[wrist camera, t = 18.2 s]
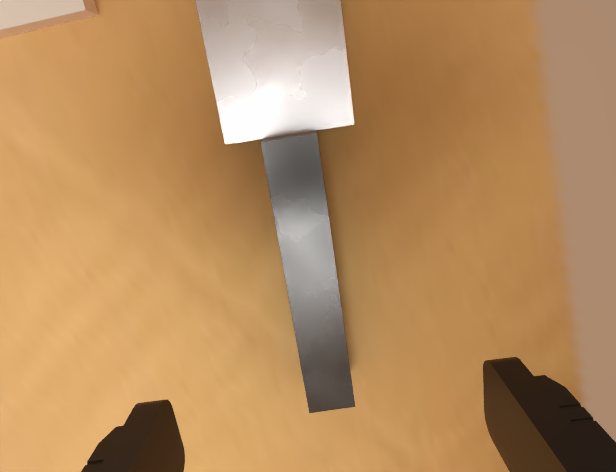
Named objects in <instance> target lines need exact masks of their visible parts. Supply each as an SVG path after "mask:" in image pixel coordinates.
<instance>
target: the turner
mask: <svg viewBox="0 0 616 472" xmlns="http://www.w3.org/2000/svg"><path fill="white" fill-rule="evenodd" d="M195 1H196V6H197V11H198V16H199V20H200V25H201V30H202V35H203V40H204V45H205V49H206V54H207V59H208V64H209V69H210V74H211V78H212V83H213V88H214V93H215V98H216V103H217V107H218V112H219V117H220V122H221V127H222V132H223V136H224V141H225V145H226V144H232V143H239V142H245V141H251V140H258V139H263V140H262V142H261V147H262V153H263V159H264V164H265V170H266V175H267V181H268V186H269V192H270V197H271V203H272V208H273V214H274V219H275V225H276V230H277V236H278V241H279V247H280V252H281V258H282V264H283V269H284V275H285V280H286V286H287V291H288V297H289V302H290V308H291V313H292V319H293V324H294V330H295V335H296V341H297V346H298V352H299V357H300V363H301V369H302V374H303V380H304V385H305V391H306V396H307V402H308V407H309V413H313V412H320V411H327V410H334V409H341V408H349V407H355V402H354V395H353V387H352V380H351V373H350V366H349V359H348V351H347V344H346V337H345V330H344V323H343V315H342V308H341V301H340V294H339V287H338V279H337V272H336V265H335V258H334V251H333V244H332V236H331V229H330V222H329V215H328V208H327V200H326V193H325V186H324V179H323V172H322V164H321V157H320V150H319V143H318V136H317V133H316V130H322V129H329V128H335V127H342V126H348V125H354V116H353V107H352V98H351V89H350V80H349V71H348V62H347V53H346V44H345V35H344V26H343V17H342V8H341V0H195Z"/></svg>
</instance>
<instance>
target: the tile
mask: <svg viewBox="0 0 616 472" xmlns="http://www.w3.org/2000/svg"><path fill="white" fill-rule="evenodd" d="M98 15H99V13H98V10H97V7H96V4H95V1H94V0H0V38H5V37H9V36H13V35H17V34H22V33H26V32H30V31H35V30H39V29H43V28H47V27H52V26H56V25H60V24H64V23H69V22H73V21H77V20H81V19H86V18H90V17H94V16H98Z"/></svg>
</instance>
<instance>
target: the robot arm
mask: <svg viewBox="0 0 616 472" xmlns="http://www.w3.org/2000/svg"><path fill="white" fill-rule="evenodd" d="M483 382H484V413H485V420H486V424H487V428H488V431H489V434H490V436H491V438H492V440H493V442H494V444H495V446H496V448H497V449H498V451H499V453H500V455H501V457H502V458H503V460H504V462H505V464H506V466H507V468H508V469H509V471H510V472H616V442H615V441H614V440H613V439H612V438H611V437H610V436H609V435H608V434H607V433H606V432H605V431H604V429H603V428H602V427H601V426H600V425H599V424H598V423H597V422H596V421H594V420H593V417H592V416H591V415H590V414H589V413H588V412H587V411H586V410H585V408H584V407H581V405H580V403H579V402H578V401H577V400H576V399H575V397H574V396H573V395H572V394H571V393H570V392H569V391H568V390H567V389H566V388H565V387H564V386H562V385H560V384H559V383H557V382H555V381H554V380H552V379H550V378H548V377H547V376H545V375H542V376H533V375H532V374H531V372H530V371H529V370H528V369H527V368H526V366H525V365H524V364H523V363H522V362H521V360H520V359H519V358H517V357H511V358H503V359H495V360H487V361H485V362H484V364H483ZM184 463H185V454H184V447H183V443H182V440H181V436H180V433H179V429H178V426H177V422H176V419H175V415H174V412H173V408H172V405H171V403H170V401H169V400H159V401H151V402H143V403H138V404H136V405H135V407H134V408H133V410H132V412H131V413H130V415H129V417H128V419H127V420H126V422H125V424H124V426H119V427H116V428H114V429H113V430H112V431H111V432H110V433H109V434H108V435H107V436H106V437H105V438H104V439H103V440H102V441H101V442H100V443H99V444H98V445H97V447H96V449H95V450H94V452H93V453H92V455H91V457H90V458H89V460H88V464H87V465H85V467H84V468H83V470H82V471H81V472H183V471H184Z"/></svg>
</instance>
